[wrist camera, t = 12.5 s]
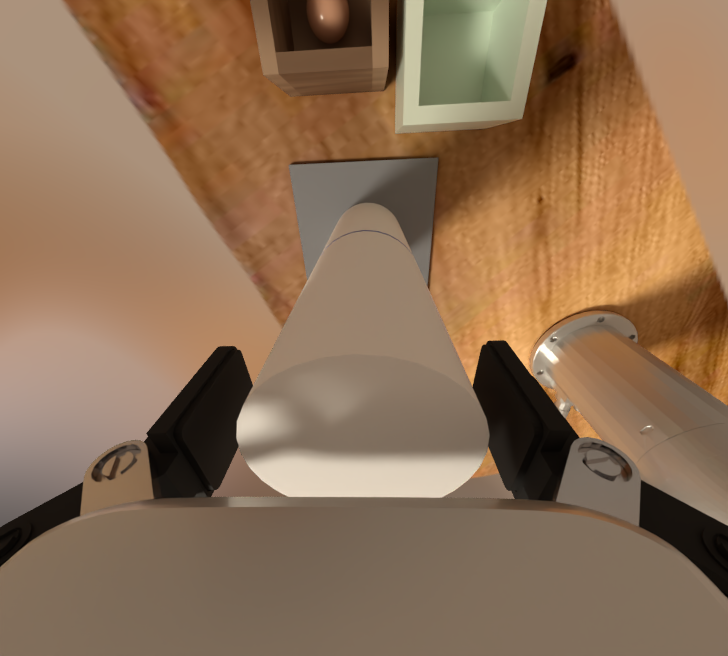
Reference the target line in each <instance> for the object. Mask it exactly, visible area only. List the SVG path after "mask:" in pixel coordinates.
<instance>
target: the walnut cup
mask: <svg viewBox="0 0 728 656" xmlns="http://www.w3.org/2000/svg"><path fill="white" fill-rule="evenodd" d="M347 1H348V5H349V24H348V27H347V30H346V32H345V34H344V36H343V37H342V38H341V39H340V40H339V41H338V42H336V43H333V44H327V43H324V42H322V41H320V40H319V39H318V38H317V37H316V36H315V35H314V33H313V32H312V30H311V28H310V25H309V22H308V19H307V11H306V4H307V0H250V3H251V8H252V14H253V20H254V25H255V31H256V37H257V42H258V48H259V54H260V59H261V65H262V70H263V75H264V76H265V77H266V78H268V79H269V80H270V81H271V82H273V83H274V84H275V85H277V86H278V87H279V88H280V89H282V90H283V91H284V92H285V93H287V94H288V95H289V96H290V97H291V96H308V95H325V94H341V93H358V92H375V91H384V88H385V83H386V78H387V73H388V68H389V0H347Z"/></svg>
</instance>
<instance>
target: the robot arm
mask: <svg viewBox="0 0 728 656" xmlns="http://www.w3.org/2000/svg"><path fill="white" fill-rule="evenodd" d="M637 342H638V333H637V330H636V328H635V326H634V325H633V324H632V322H631V321H629V320H628V319H626V318H625V317H623V316H622V315H619V314H617V313H615V312H610V311H597V310H596V311H589V312H584V313H580V314H577V315H574V316H571V317H569V318H567V319H564V320H563V321H561V322H559V323H558V324H556V325H554V326H553V327H552V328H550V329H549V330H548V331H547V332H546V333H545V334H544V335H543V336H542V337H541V338H540V339H539V340H538V342H537V343H536V344H535V346H534V348H533V350H532V352H531V356H530V369H531V372H532V373H533V375H534V376H535V378H536V379H537V380H538V381H539V382H540V383H541V384H543V385H544V386H546V387H548V388H551V389H554V390H555V391H556V395H555V397H556V399H557V401H556V402H555V403H553V402H552V400H551V399H550V398H549V396H548V395H547V394H546V392H545V391H544V390H543V388H542V387H541V386H540V384H539V383H538V382H537V380H536V379H535V378H534V377H533V376H531V374H530V373H529V372H528V370H527V369H526V368H525V366H524V365H523V364H522V362H521V361H520V360H519V358H518V357H517V355H516V354H515V353H514V351H513V350H512V349H511V347H510V346H509V345H508V343H507V342H506V341H488V342H487V344H486V345H483V346H482V348H481V352H480V356H479V361H478V365H477V370H476V374H475V379H474V383H473V387H472V388H473V390H474V392H475V394H476V396H477V399H478V401H479V403H480V405H481V408H482V410H483V412H484V414H485V416H486V419H487V424H488V429H489V435H490V436H489V443H488V446H489V449H490V451H491V454H492V456H493V459H494V461H495V464H496V466H497V469H498V471H499V473H500V476H501V478H502V481H503V483H504V485H505V487H506V489H507V490H508V491H512V493H513V496H514V498H515V499H494V498H493V499H492V498H427V497H211V496H212V493H213V492H214V490H217V489H218V488H219V487H220V485H221V483H222V480H223V478H224V477H225V474H226V472H227V470H228V468H229V466H230V464H231V461H232V459H233V457H234V455H235V453H236V451H237V448H238V446H239V445H238V442H237V438H236V434H237V420H238V417H239V415H240V412H241V409H242V407H243V404H244V402H245V400H246V399H247V397H248V395H249V393H250V391H251V389H252V387H253V384H252V381H251V379H250V376H249V373H248V370H247V367H246V364H245V361H244V358H243V356H242V353H241V351H240V350H237V348H236V347H234V346H220V347H218V348H217V349H216V350H215V351H214V352H213V353H212V355H211V356H210V357H209V358H208V360H207V361H206V362H205V363H204V364H203V365H202V367H201V368H200V369H199V370H198V372H197V373H196V374H195V375H194V376H193V378H192V379H191V380H190V381H189V382H188V384H187V385H186V386H185V387H184V388H183V390H182V391H181V392H180V394H179V395H178V396H177V397H176V398H175V399H174V401H173V402H172V403H171V404H170V406H169V407H168V408H167V409H166V410H165V412H164V413H163V414H162V415H161V416H160V418H159V419H158V420H157V421H156V422H155V424H154V425H153V426H152V427H151V429H150V430H149V431H148V432H147V435H148V437H147V439H146V440H145V441H144V442H142V441H140V440H131V441H126V442H123V443H121V444H118V445H116V446H114V447H112V448H110V449H108V450H107V451H106V452H104V453H103V454H101V455H100V456H99V457H98V458H97V459H96V460H95V461H94V462H93V463H92V464H91V465H90V466H89V468H88V469H87V471H86V473H85V476H84V481H83V482H82V483H81V484H79V485H77V486H75V487H73V488H71V489H69V490H68V491H66V492H64V493H62V494H60V495H58V496H57V497H55V498H53V499H51V500H49V501H47V502H46V503H44V504H42V505H40V506H38V507H36V508H34V509H33V510H31V511H29V512H27V513H25V514H23V515H21V516H20V517H18V518H16V519H14V520H12V521H10V522H8V523H7V524H5V525H3V526H2V527H0V656H728V406H727V405H725V404H724V403H723V402H721V401H720V400H718V399H717V398H715V397H714V396H712V395H711V394H710V393H708V392H707V391H705V390H704V389H702V388H701V387H699V386H698V385H697V384H695V383H694V382H692V381H691V380H689V379H688V378H686V377H685V376H683V375H682V374H681V373H679V372H678V371H676V370H675V369H673V368H672V367H670V366H669V365H668V364H666V363H665V362H663V361H662V360H660V359H659V358H657V357H656V356H654V355H653V354H652V353H650V352H649V351H647V350H646V349H644V348H643V347H641V346H640V345H639V344H637ZM573 405H574V406H573ZM571 406H573V407H574V409H575V410H576V411H578V412H580V413H581V415H582V416H583V417H584V418H585V420H586V421H587V422H588V423H589V424H590V426H591V427H592V428H593V429H594V430H595V432H596V433H597V434H598V435H599V436H600V438H601V439H602V440H603V441H602V440H599V439H595V438H589V437H585V438H579V436H578V435H577V434H576V432H575V431H574V430H573V428H572V427H571V426H570V424H569V423H568V422H567V420H566V417H567V415H568V413H569V411H570V407H571Z"/></svg>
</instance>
